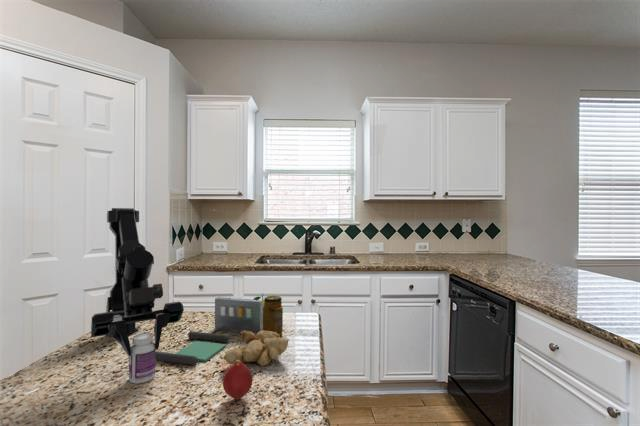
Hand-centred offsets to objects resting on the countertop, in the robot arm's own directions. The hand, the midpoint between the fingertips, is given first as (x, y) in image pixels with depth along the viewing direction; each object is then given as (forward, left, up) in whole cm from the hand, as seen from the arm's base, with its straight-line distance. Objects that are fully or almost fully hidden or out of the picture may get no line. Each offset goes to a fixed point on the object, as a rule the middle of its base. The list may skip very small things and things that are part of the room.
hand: (143, 352), depth 72 cm
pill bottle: (-2, +1, -7) cm, 7 cm away
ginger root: (+20, +18, -7) cm, 28 cm away
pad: (+3, +17, -7) cm, 19 cm away
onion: (+24, -1, -7) cm, 25 cm away
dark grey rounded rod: (0, +10, -7) cm, 12 cm away
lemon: (+9, +44, -7) cm, 46 cm away
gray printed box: (+5, +35, -7) cm, 36 cm away
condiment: (+18, +32, -7) cm, 37 cm away
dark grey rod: (0, +25, -7) cm, 26 cm away
